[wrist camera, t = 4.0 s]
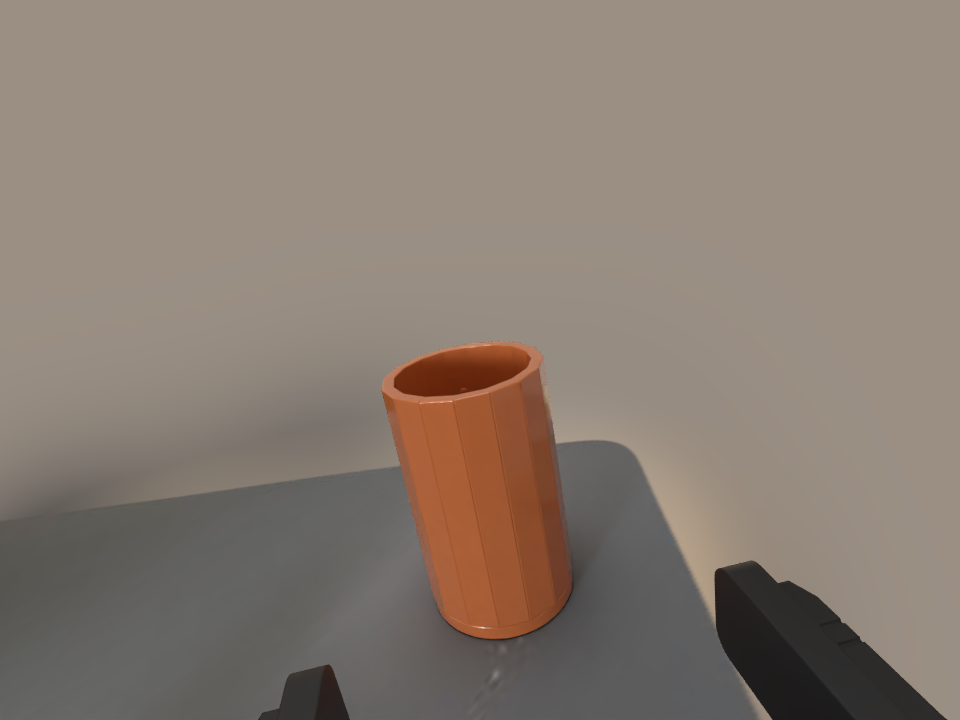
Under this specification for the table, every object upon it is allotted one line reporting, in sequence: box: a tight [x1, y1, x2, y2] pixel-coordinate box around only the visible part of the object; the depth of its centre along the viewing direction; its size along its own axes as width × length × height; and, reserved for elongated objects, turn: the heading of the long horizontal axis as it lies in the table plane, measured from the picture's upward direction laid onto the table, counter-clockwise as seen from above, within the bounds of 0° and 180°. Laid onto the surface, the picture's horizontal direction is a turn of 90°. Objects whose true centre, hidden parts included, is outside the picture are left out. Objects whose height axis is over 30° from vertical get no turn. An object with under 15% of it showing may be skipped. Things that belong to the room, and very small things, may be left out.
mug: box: [382, 341, 573, 639], centre depth 22 cm, size 10×6×10 cm, turn 8°
